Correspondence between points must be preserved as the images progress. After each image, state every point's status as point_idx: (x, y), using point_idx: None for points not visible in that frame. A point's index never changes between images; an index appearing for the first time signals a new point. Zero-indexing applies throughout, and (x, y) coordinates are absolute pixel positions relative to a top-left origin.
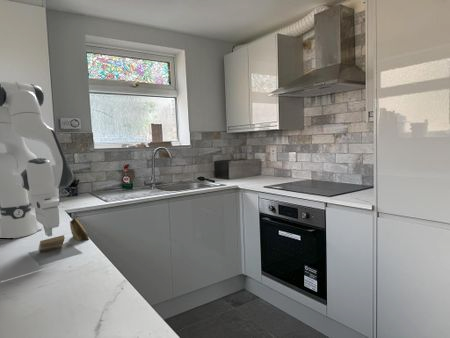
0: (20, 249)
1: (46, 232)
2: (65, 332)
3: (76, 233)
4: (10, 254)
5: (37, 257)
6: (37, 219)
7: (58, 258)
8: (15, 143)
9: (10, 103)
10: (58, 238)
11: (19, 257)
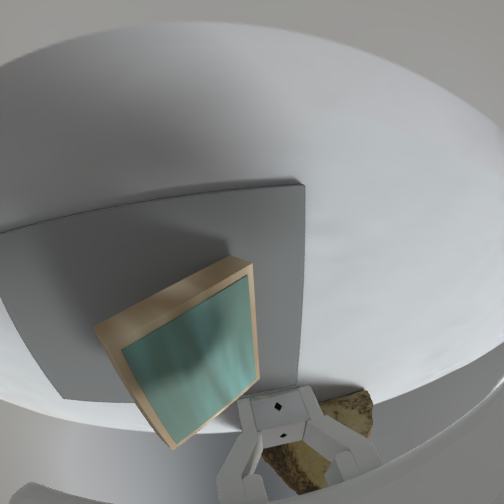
0: (435, 165)
1: (258, 427)
2: None
3: (286, 443)
4: (393, 93)
5: (106, 235)
6: (497, 417)
7: (29, 325)
8: None
9: None
10: (150, 423)
11: (263, 116)
